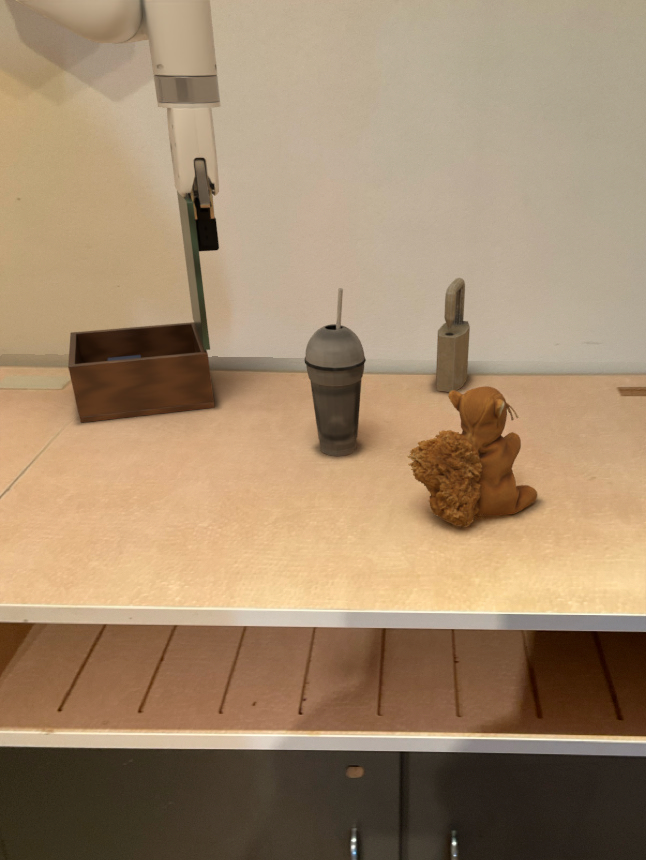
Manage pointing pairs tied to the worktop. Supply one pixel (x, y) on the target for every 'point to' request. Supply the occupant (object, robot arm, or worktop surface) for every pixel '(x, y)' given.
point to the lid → (193, 267)
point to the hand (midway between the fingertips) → (206, 249)
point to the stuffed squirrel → (473, 462)
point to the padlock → (453, 341)
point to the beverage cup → (336, 384)
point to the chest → (139, 371)
